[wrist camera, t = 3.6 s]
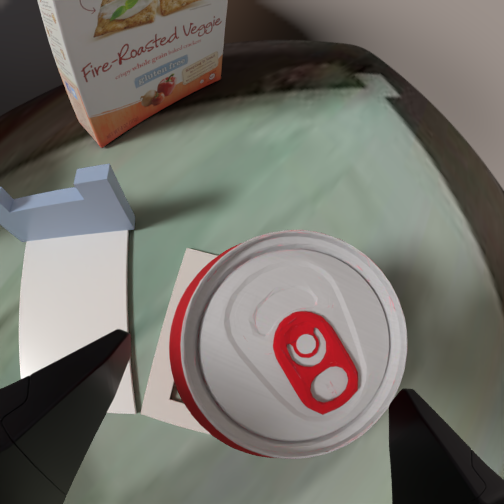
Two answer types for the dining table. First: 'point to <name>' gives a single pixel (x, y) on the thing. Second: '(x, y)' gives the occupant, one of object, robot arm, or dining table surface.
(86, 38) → the cracker box
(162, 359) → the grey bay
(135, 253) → the dining table surface
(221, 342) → the beverage can
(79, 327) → the blue bay
